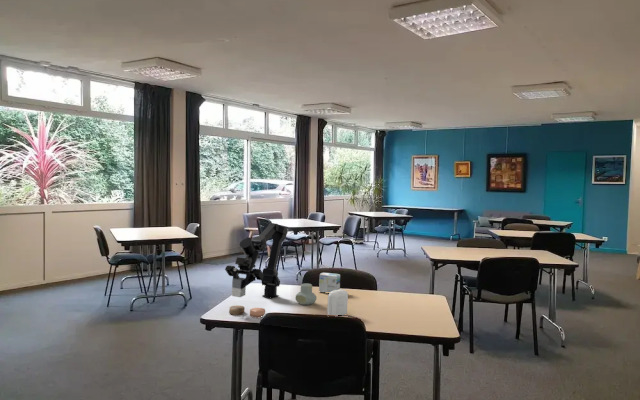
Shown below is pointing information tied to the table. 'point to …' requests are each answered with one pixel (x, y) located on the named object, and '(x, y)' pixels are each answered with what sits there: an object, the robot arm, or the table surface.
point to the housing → (238, 287)
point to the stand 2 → (257, 312)
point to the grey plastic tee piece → (306, 295)
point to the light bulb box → (329, 282)
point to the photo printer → (337, 302)
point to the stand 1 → (236, 310)
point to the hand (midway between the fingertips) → (237, 287)
